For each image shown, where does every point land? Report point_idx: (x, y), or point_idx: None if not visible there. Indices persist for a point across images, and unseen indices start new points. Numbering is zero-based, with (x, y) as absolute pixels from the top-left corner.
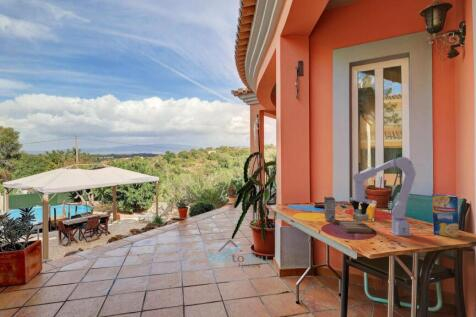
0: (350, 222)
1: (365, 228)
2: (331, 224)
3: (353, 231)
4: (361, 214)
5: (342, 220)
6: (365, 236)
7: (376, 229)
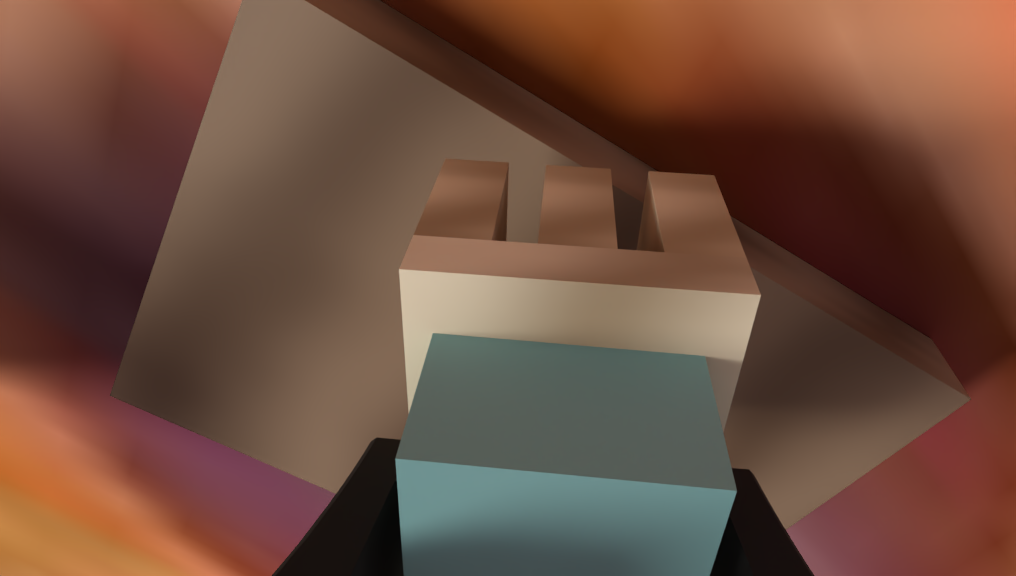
0: (357, 347)
1: (867, 469)
2: (155, 439)
3: None
4: None
5: (138, 345)
6: (946, 541)
7: (878, 26)
